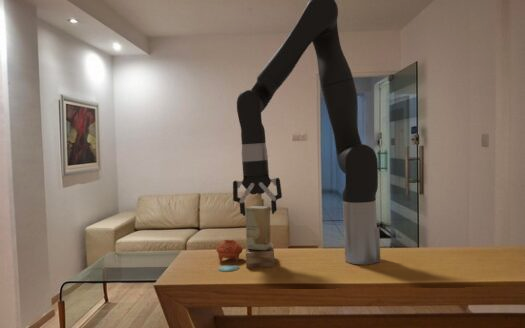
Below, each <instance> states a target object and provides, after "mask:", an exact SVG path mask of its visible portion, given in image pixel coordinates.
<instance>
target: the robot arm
mask: <svg viewBox="0 0 525 328" xmlns="http://www.w3.org/2000/svg"><path fill="white" fill-rule="evenodd" d="M338 16H339V7H338V4H337V2H336V1H335V0H309V1H308V3H307V4H306V6H305V8H304V10H303V12H302V14H301V15H300V17H299V19H298V21H297V22H296V24H295V25H294V27H293V29H292V30H291V32H290V33H289V35H288V36H287V37H286V39H285V40H284V42H283V43H282V44H281V46H280V47H279V48H278V50H276V52H275V53H274V54H273V56H272V57H271V58H270V59H269V60H268V62H267V63H266V64H265V66H264V67H263V68H262V69H261V70H260V72H259V73H258V75H257V77H256V82H255V84H254V85H253V86H252V88H251V89H246V90H243V91H242V92H240V93H239V94H238V96H237V98H236V99H237V100H236V112H237V116H238V121H239V126H240V138H241V162H242V163H241V164H242V177H243V178H242V180H236V179H235V180H234V181H233V182H232V199H233V202H237V203H238V204H239V211H240V215H242V216H243V217H246V204H245V203H246V202H245V200H246V199H247V197H248V196H249V194H250V195H257V194H259V195H263V194H264V193H265V194H266V195H267V196H268V197H269V199H271V200H270V202H271V203H270V204H271V206H270V208H271V214H272V215H274V214H275V212H277V200H279V199H282V198H283V197H282V196H283V193H282V186H281V180H280V178H279V177H276V178H270V175H269V174H270V171H269V160H268V159H269V158H268V157H269V155H268V148H267V144H266V130H265V127H264V125H263V122H262V112H263V111H264V110H265V109H266V108H267V106H268V105H269V103H270V102H271V100H272V98H273V96H274V95H275V93H276V92H277V91H278V90H279V88H280V87H281V86H282V85H283V83H285V81H287V80H286V79H288V77H289V76H290V75H291V73H292V72H293V71H294V69H295V67H296V65H297V64H298V62H299V61H300V59H301V58H302V56H303V55H304V54H305V52H306V50H307V49H308V48H309V46H310V45H311V44H313V48H314V51H315V54H316V62H317V70H318V76H319V83H320V87H321V92H322V96H323V100H324V103H325V104H324V105H325V106H326V107H325V108H326V111H327V115H328V118H329V122H330V125H331V128H332V133H333V135H334V136H333V137H334V142H335V143H334V144H335V151H336V153H335V154H336V159H337V164H338V167H339V169H340V170H341V171H342V172H343V174H345V178H344V179H345V186H344V189H343V190H342V193H341V197H342V214H343V215H342V218H343V220H342V221H343V243H344V246H343V247H344V260H345V262H347V263H348V264H354V265H373V264H376V263H381V261H382V260H381V242H380V241H381V238H380V236H381V235H380V228H379V227H377V225H378V224H377V223H378V222H377V220H378V219H377V201H376V199H377V198H376V197H377V195H376V194H377V193H378V192H377V191H378V189H379V185H378V184H379V182H378V181H379V179H378V178H379V165H378V156H377V154H376V151H375V150H374V149H373V148H372V147H371V146H369V145H367V144H362V143H363V142H362V140H361V137H360V133H359V130H358V122H357V121H358V120H357V119H358V94H357V88H356V85H355V80H354V77H353V74H352V71H351V69H350V66H349V63H348V60H347V59H346V57H345V55H344V52H343V49H342V45H341V41H340V36H339V29H338V28H339V27H338ZM271 183H272V184H273V186H275V187H276V194H275V195H274V193H272V191H271V190H270V189H269V187H270V185H271ZM241 185H242V186H243V187H244V189H245V191H244V193H243V194H242V196H241V197H239V193H238V192H239V191H238V190H239V189H240V188H241Z"/></svg>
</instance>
